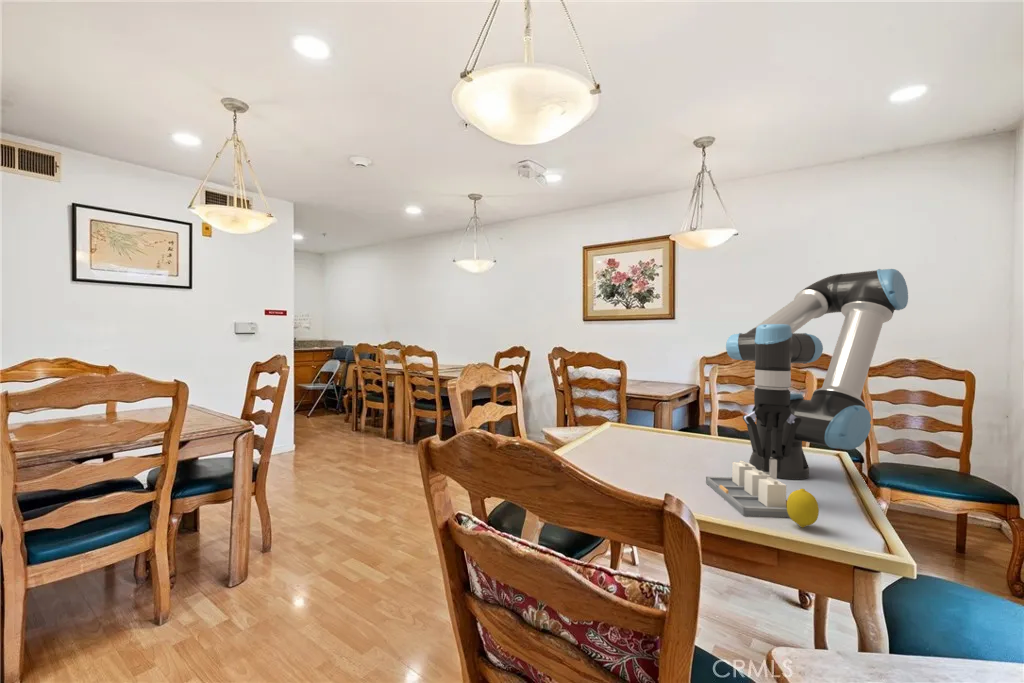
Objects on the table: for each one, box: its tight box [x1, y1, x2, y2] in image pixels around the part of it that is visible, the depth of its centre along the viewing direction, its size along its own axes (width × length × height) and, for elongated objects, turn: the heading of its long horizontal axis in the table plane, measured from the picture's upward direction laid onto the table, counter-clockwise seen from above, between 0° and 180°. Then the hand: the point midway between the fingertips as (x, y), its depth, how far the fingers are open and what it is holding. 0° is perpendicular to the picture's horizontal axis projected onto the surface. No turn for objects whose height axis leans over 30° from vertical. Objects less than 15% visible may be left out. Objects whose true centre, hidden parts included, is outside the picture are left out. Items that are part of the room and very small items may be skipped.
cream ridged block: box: [744, 468, 770, 496], centre depth 106 cm, size 4×4×6 cm
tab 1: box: [731, 460, 756, 486], centre depth 113 cm, size 4×4×6 cm
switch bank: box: [705, 476, 791, 519], centre depth 106 cm, size 11×22×2 cm, turn 176°
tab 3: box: [758, 477, 787, 508], centre depth 99 cm, size 4×4×6 cm
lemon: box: [786, 488, 820, 528], centre depth 90 cm, size 6×6×8 cm
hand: (770, 485), depth 106 cm, fingers closed
